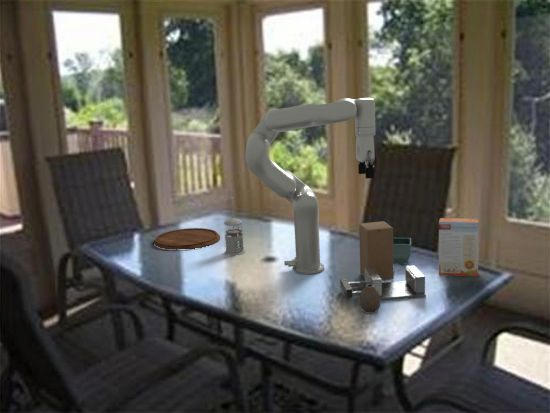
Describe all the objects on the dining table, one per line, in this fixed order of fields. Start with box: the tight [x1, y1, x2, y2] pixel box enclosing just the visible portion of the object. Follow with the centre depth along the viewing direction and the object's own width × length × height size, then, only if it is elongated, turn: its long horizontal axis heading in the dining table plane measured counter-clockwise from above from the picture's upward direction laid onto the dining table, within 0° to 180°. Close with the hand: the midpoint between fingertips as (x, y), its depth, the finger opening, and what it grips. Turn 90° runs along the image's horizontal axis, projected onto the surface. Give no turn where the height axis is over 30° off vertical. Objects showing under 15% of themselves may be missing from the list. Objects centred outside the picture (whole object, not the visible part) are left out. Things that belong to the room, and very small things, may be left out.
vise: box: [358, 264, 427, 302], centre depth 212 cm, size 20×14×7 cm
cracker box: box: [438, 217, 480, 278], centre depth 226 cm, size 14×6×21 cm, turn 71°
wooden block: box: [358, 220, 395, 281], centre depth 227 cm, size 10×10×20 cm
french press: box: [223, 196, 247, 257], centre depth 267 cm, size 10×12×25 cm
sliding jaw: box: [339, 268, 383, 299], centre depth 212 cm, size 12×12×6 cm
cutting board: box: [153, 227, 221, 250], centre depth 291 cm, size 32×32×2 cm
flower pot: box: [393, 237, 412, 265], centre depth 243 cm, size 9×9×9 cm
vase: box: [358, 284, 382, 314], centre depth 198 cm, size 7×7×9 cm
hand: (366, 175), depth 234 cm, fingers open, 9 cm apart
